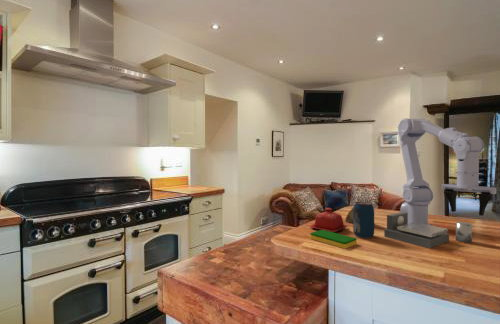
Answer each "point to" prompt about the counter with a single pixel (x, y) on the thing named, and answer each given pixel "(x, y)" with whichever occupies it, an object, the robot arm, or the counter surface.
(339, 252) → the counter surface
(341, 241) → the dish sponge
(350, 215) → the rock
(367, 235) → the soda can
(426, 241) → the scale
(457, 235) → the steel weight
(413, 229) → the scale pan
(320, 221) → the butter dish
